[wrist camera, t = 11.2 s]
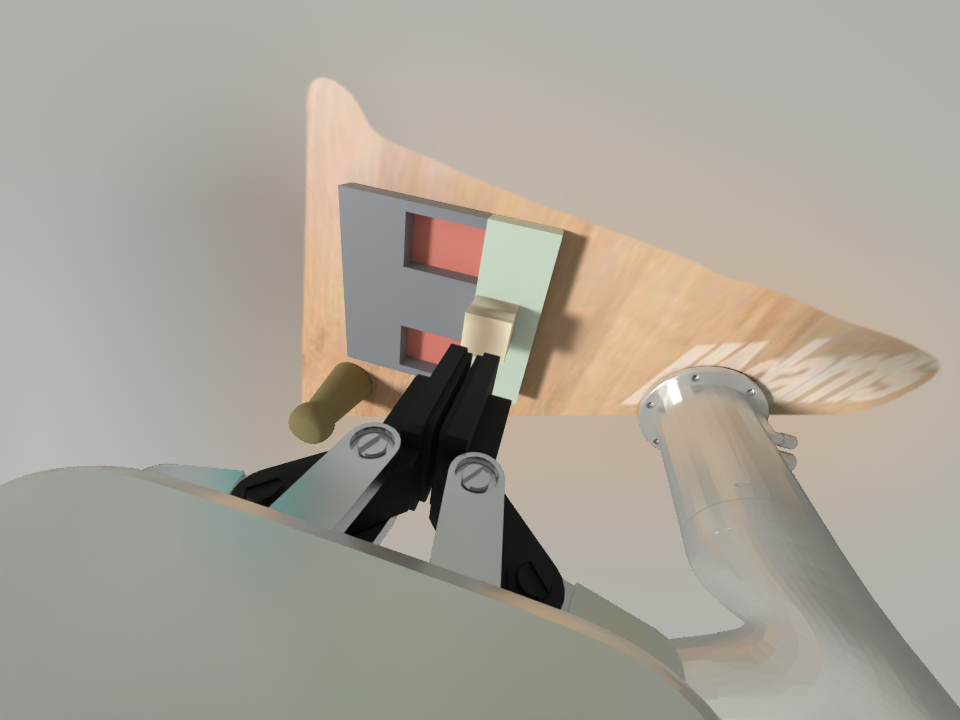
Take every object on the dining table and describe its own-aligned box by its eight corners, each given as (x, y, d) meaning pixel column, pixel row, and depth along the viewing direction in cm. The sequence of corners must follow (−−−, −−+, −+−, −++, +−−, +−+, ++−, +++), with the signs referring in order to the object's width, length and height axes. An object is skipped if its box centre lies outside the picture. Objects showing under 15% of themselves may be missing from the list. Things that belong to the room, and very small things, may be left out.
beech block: (519, 305, 37) (512, 323, 33) (510, 342, 39) (503, 364, 35) (477, 294, 37) (465, 312, 34) (471, 332, 40) (459, 352, 36)
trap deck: (564, 229, 34) (562, 235, 32) (518, 391, 45) (515, 403, 43) (352, 182, 37) (338, 185, 35) (357, 346, 48) (347, 356, 46)
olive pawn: (375, 400, 52) (331, 455, 43) (338, 394, 54) (288, 447, 44) (368, 364, 49) (319, 416, 40) (328, 360, 50) (272, 409, 41)
